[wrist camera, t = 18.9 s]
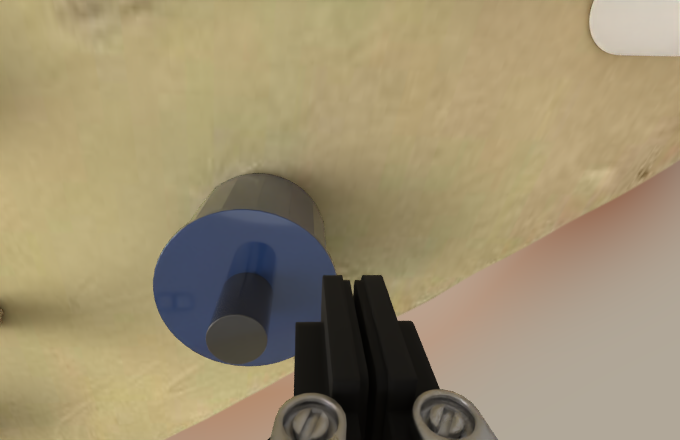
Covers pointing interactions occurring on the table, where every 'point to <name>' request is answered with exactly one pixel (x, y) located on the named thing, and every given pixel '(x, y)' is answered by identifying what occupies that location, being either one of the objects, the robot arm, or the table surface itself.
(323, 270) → the lid
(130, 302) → the table surface
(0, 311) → the handle
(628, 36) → the can
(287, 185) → the cup
